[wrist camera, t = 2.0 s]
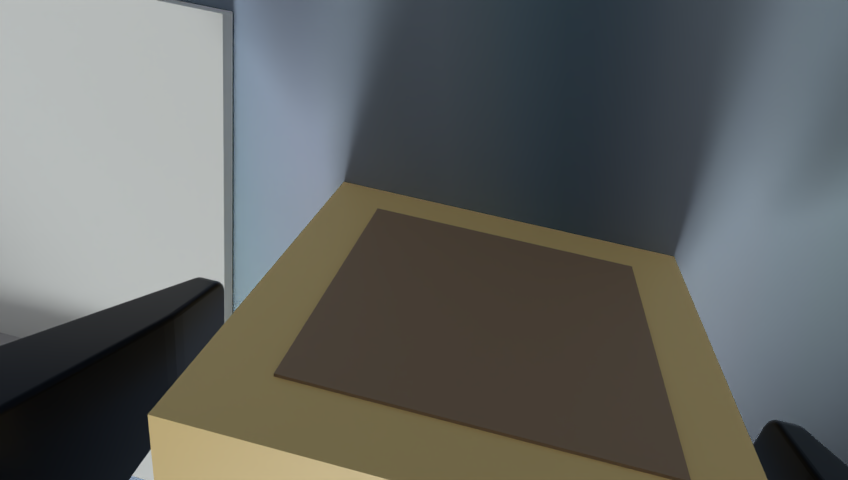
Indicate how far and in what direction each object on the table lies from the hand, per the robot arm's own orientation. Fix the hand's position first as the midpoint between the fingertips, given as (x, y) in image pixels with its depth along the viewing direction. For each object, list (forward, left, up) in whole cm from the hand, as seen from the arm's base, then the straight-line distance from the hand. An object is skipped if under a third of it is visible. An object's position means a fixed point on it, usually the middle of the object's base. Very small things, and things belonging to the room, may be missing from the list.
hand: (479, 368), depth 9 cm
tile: (0, 0, -4) cm, 4 cm away
